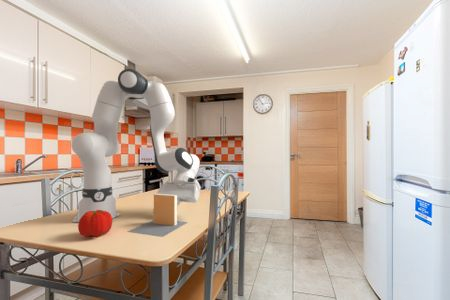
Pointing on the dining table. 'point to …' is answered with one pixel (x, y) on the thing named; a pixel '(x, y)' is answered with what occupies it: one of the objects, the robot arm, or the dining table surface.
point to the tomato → (95, 223)
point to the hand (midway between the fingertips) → (171, 208)
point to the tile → (165, 209)
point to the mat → (156, 228)
